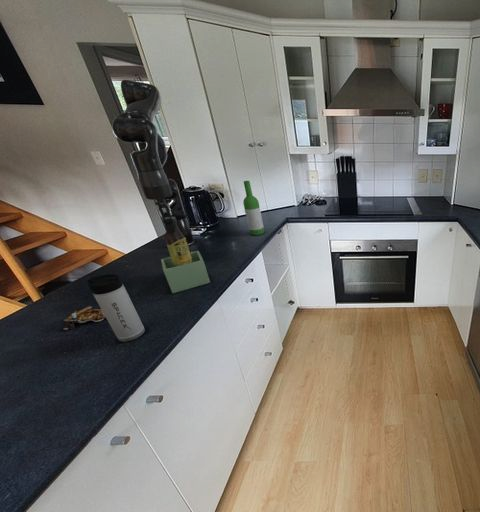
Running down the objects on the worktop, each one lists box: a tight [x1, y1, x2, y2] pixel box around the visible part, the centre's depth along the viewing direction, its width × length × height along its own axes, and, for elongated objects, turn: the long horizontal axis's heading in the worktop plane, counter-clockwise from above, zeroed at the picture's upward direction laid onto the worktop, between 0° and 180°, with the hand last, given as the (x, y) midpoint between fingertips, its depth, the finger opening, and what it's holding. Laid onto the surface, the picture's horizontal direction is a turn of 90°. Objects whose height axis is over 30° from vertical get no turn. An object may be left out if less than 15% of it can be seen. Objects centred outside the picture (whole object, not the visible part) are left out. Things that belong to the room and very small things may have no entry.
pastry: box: [63, 306, 106, 331], centre depth 88 cm, size 7×12×4 cm, turn 125°
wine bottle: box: [242, 180, 265, 236], centre depth 151 cm, size 8×8×30 cm
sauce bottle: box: [161, 217, 193, 267], centre depth 103 cm, size 6×6×20 cm
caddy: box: [160, 250, 211, 294], centre depth 108 cm, size 12×13×10 cm
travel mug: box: [86, 273, 146, 343], centre depth 78 cm, size 6×7×20 cm
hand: (171, 230), depth 100 cm, fingers closed on sauce bottle, 4 cm apart
